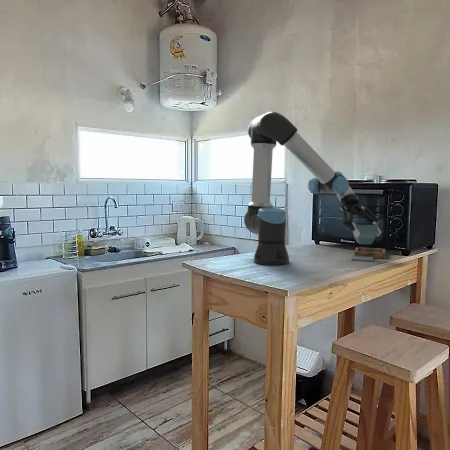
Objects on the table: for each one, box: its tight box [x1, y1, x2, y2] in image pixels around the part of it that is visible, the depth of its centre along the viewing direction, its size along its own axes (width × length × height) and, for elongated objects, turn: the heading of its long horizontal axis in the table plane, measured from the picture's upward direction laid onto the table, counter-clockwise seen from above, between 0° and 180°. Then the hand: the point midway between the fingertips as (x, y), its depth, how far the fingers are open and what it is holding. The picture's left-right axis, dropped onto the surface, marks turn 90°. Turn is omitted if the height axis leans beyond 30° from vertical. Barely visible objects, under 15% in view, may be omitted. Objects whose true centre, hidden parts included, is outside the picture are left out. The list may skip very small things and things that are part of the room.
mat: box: [351, 255, 374, 263], centre depth 183 cm, size 9×9×1 cm
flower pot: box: [352, 222, 379, 245], centre depth 182 cm, size 9×9×9 cm
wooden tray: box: [354, 247, 387, 260], centre depth 192 cm, size 13×13×2 cm
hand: (369, 235), depth 179 cm, fingers closed on flower pot, 11 cm apart
